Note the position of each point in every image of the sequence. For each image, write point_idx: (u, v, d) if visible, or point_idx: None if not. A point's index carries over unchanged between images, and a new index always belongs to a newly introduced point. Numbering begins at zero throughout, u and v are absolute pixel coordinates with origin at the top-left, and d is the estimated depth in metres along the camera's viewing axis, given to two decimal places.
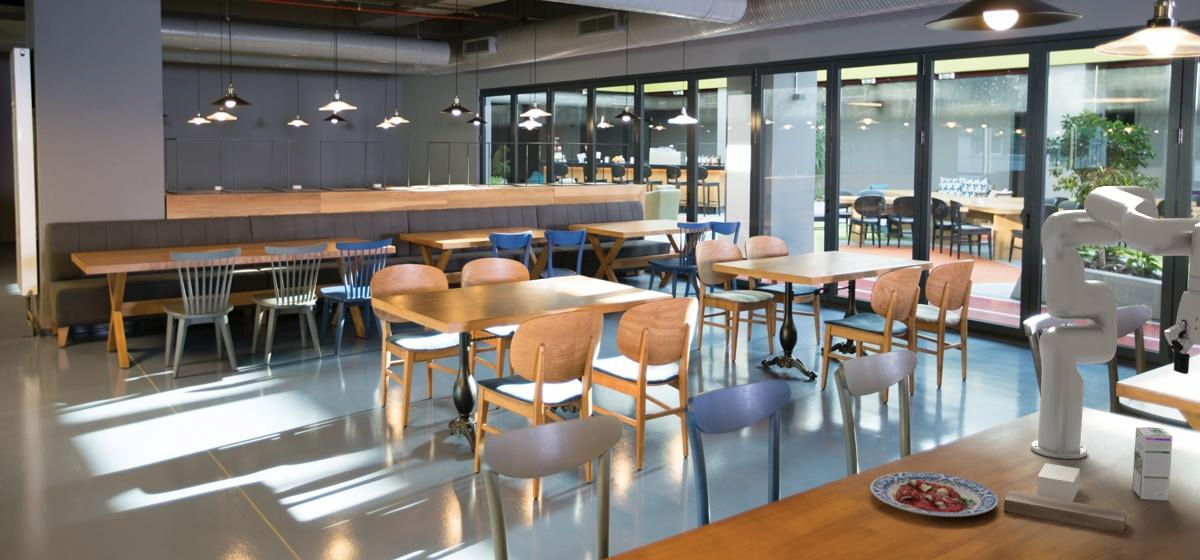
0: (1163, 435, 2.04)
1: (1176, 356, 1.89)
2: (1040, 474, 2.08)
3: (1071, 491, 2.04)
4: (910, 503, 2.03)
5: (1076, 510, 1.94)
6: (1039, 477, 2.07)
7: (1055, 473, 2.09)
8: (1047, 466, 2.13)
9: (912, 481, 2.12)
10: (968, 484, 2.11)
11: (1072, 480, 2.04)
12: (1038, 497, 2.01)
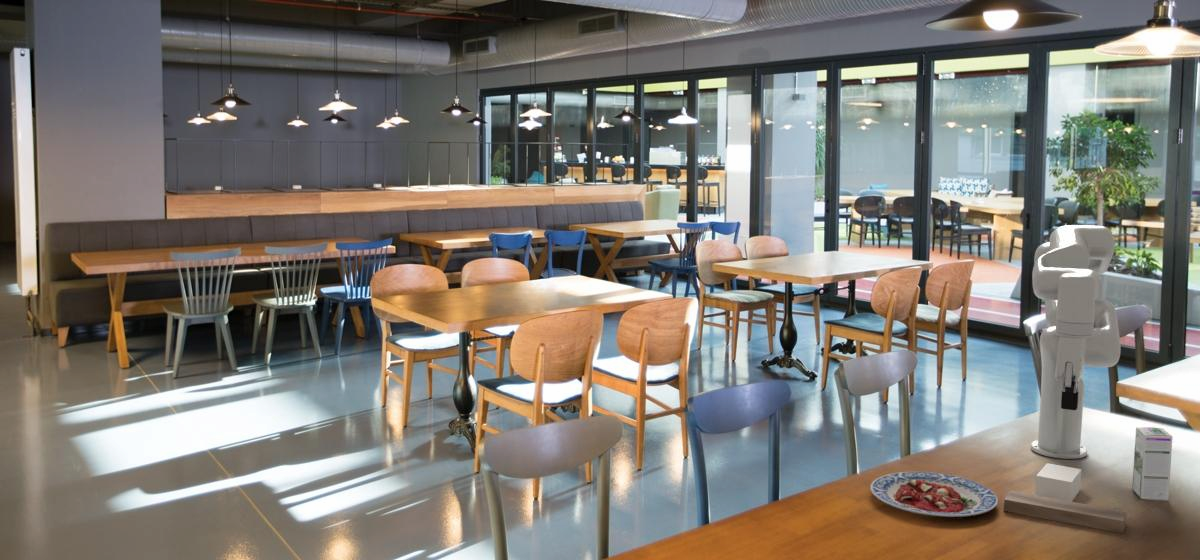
0: (1163, 435, 2.04)
1: (1067, 396, 2.15)
2: (1039, 474, 2.08)
3: (1069, 491, 2.04)
4: (910, 503, 2.03)
5: (1076, 510, 1.94)
6: (1038, 476, 2.07)
7: (1055, 473, 2.09)
8: (1048, 466, 2.13)
9: (912, 481, 2.12)
10: (968, 484, 2.11)
11: (1071, 480, 2.04)
12: (1038, 497, 2.01)
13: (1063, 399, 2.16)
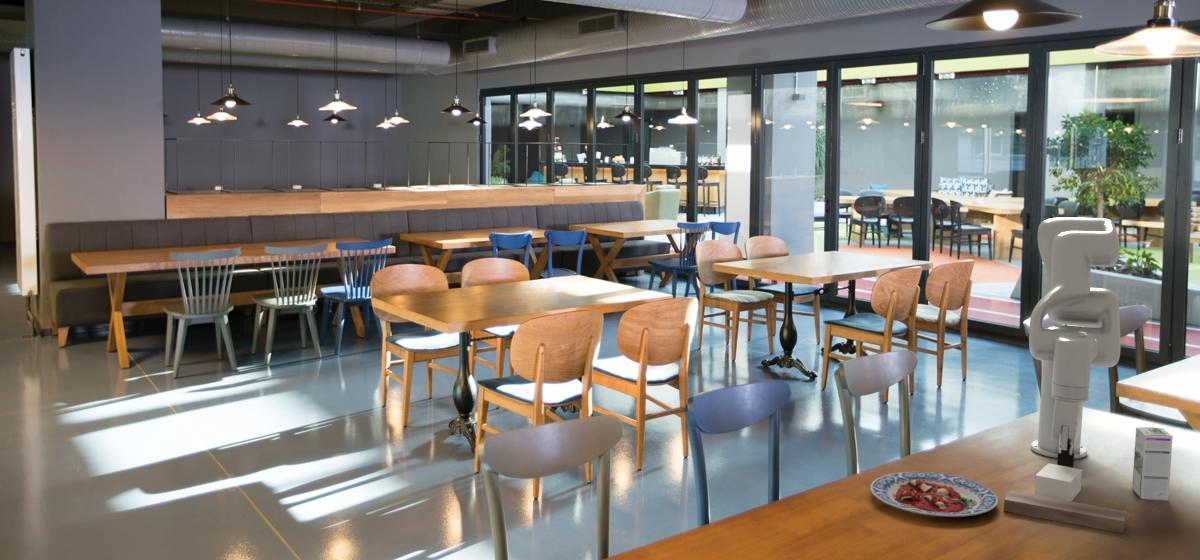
0: (1163, 435, 2.04)
1: (1063, 458, 2.17)
2: (1039, 473, 2.09)
3: (1068, 491, 2.04)
4: (910, 503, 2.03)
5: (1076, 510, 1.94)
6: (1037, 476, 2.08)
7: (1055, 473, 2.09)
8: (1049, 466, 2.13)
9: (912, 481, 2.12)
10: (968, 484, 2.11)
11: (1070, 480, 2.04)
12: (1038, 497, 2.01)
13: (1059, 460, 2.18)
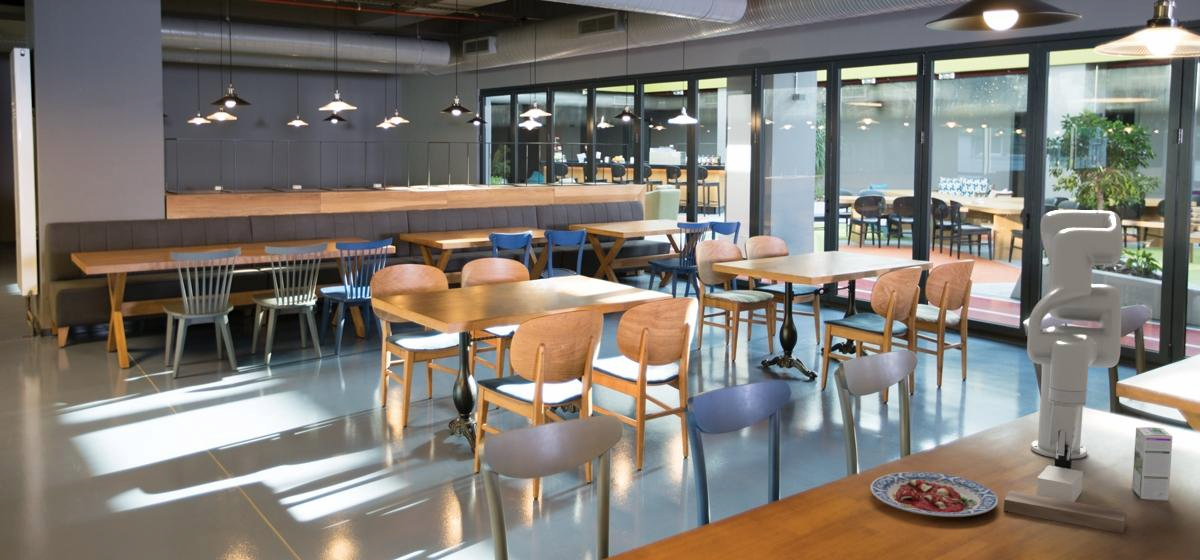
0: (1163, 435, 2.04)
1: (1060, 463, 2.13)
2: (1040, 476, 2.07)
3: (1070, 493, 2.03)
4: (910, 503, 2.03)
5: (1076, 510, 1.94)
6: (1039, 479, 2.06)
7: (1056, 475, 2.08)
8: (1049, 468, 2.12)
9: (912, 481, 2.12)
10: (968, 484, 2.11)
11: (1072, 482, 2.03)
12: (1038, 497, 2.01)
13: (1056, 466, 2.14)
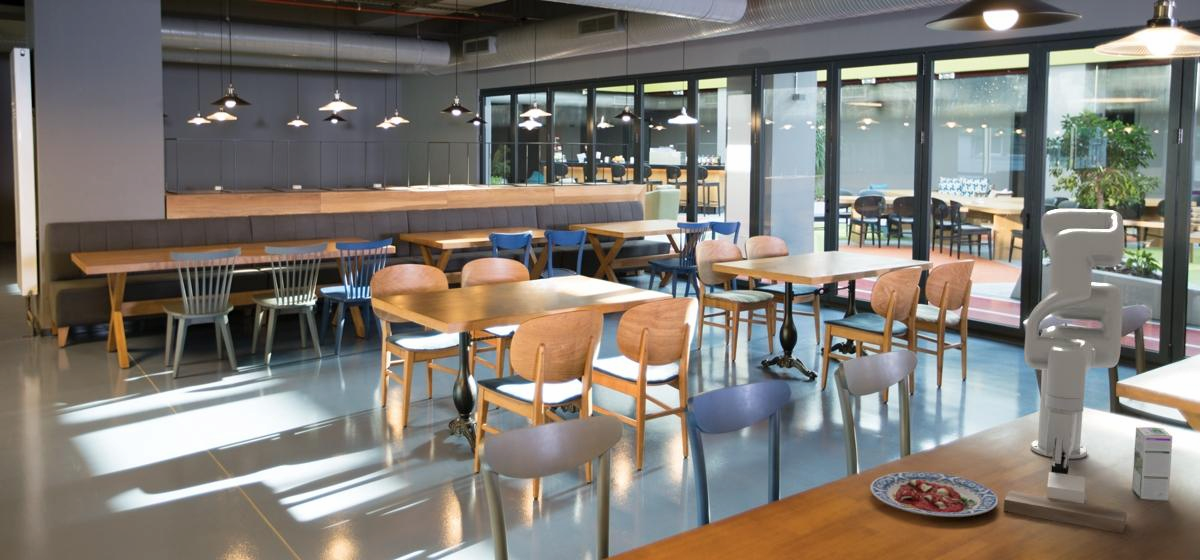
0: (1163, 435, 2.04)
1: (1057, 471, 2.10)
2: (1049, 484, 2.02)
3: (1082, 501, 1.98)
4: (910, 503, 2.03)
5: (1076, 510, 1.94)
6: (1049, 487, 2.01)
7: (1063, 482, 2.03)
8: (1052, 475, 2.07)
9: (912, 481, 2.12)
10: (968, 484, 2.11)
11: (1083, 489, 1.99)
12: (1038, 497, 2.01)
13: None
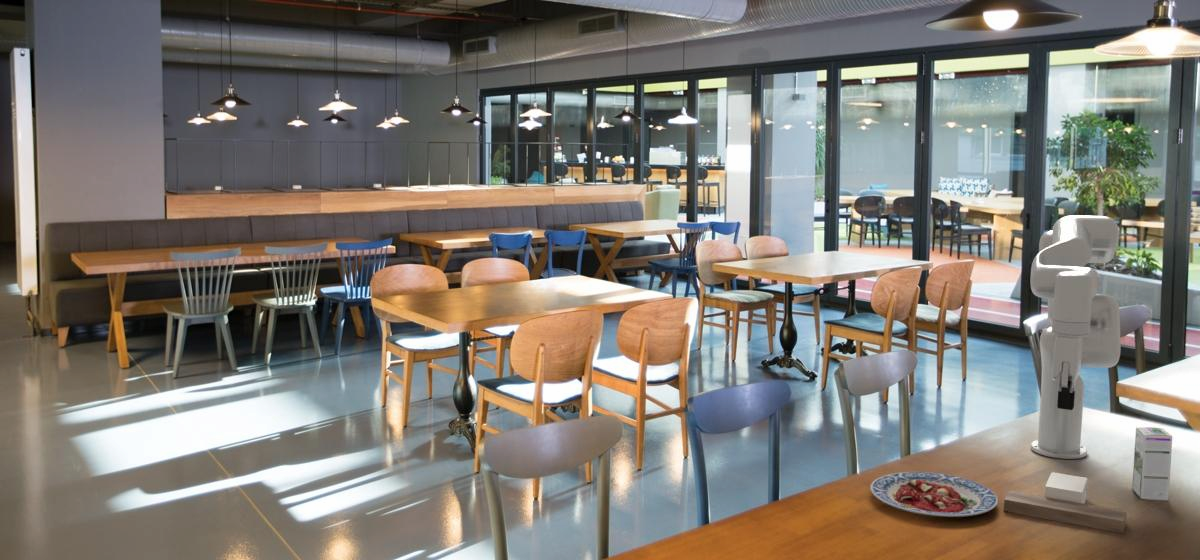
0: (1163, 435, 2.04)
1: (1063, 396, 2.12)
2: (1047, 484, 2.02)
3: (1080, 501, 1.98)
4: (910, 503, 2.03)
5: (1076, 510, 1.94)
6: (1047, 487, 2.01)
7: (1063, 482, 2.03)
8: (1054, 475, 2.07)
9: (912, 481, 2.12)
10: (969, 484, 2.11)
11: (1081, 490, 1.99)
12: (1038, 497, 2.01)
13: (1059, 399, 2.14)
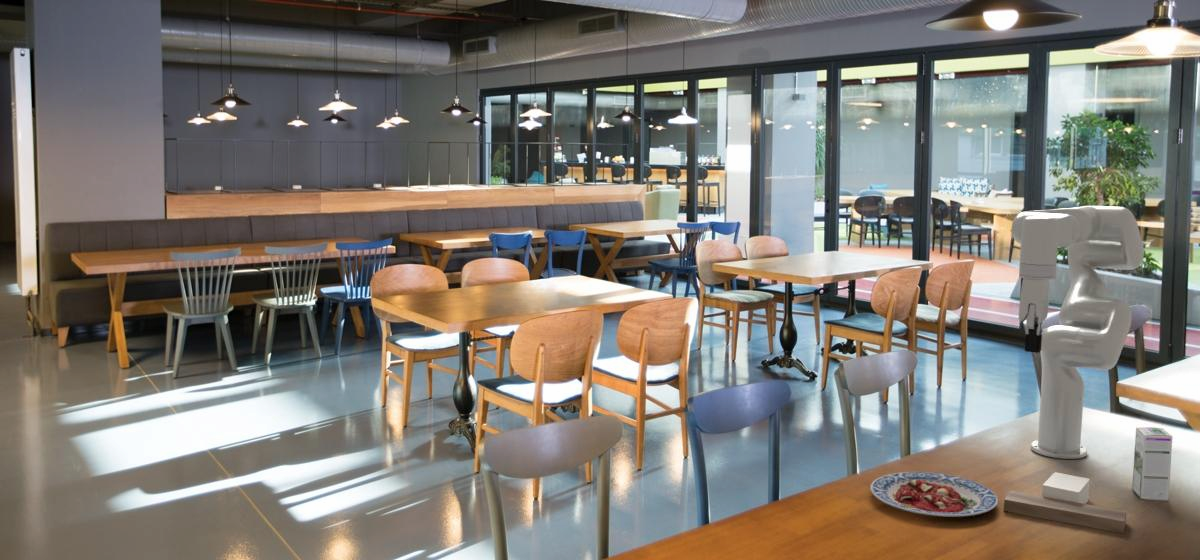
0: (1163, 435, 2.04)
1: (1030, 338, 2.16)
2: (1046, 483, 2.03)
3: (1076, 501, 1.98)
4: (910, 503, 2.03)
5: (1076, 510, 1.94)
6: (1044, 486, 2.02)
7: (1063, 482, 2.03)
8: (1056, 475, 2.07)
9: (912, 481, 2.12)
10: (969, 484, 2.11)
11: (1078, 490, 1.99)
12: (1038, 497, 2.01)
13: (1027, 342, 2.17)
